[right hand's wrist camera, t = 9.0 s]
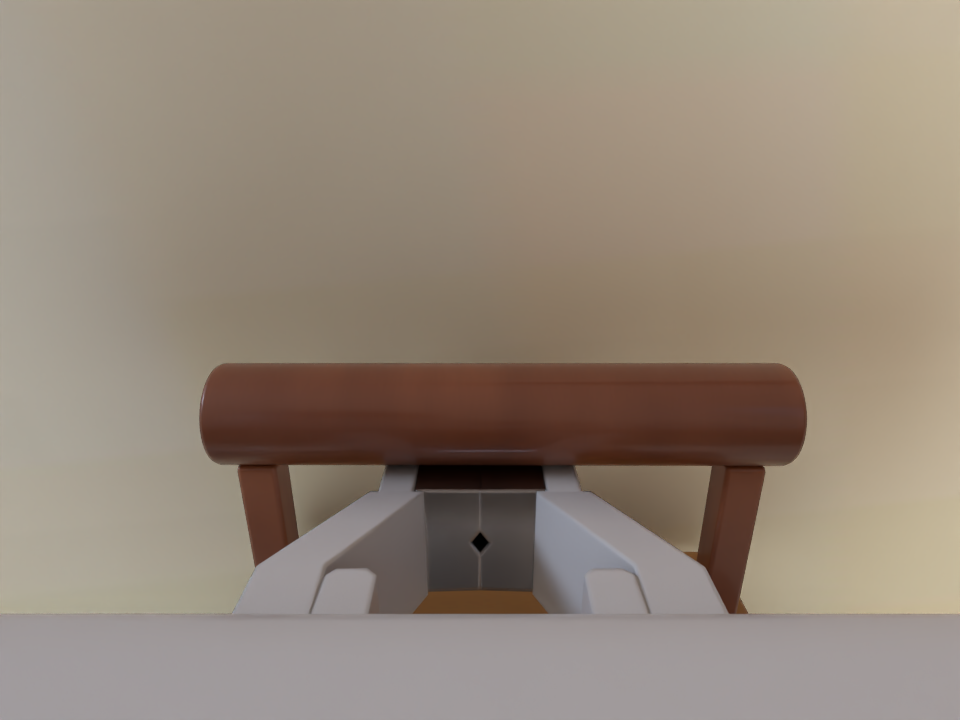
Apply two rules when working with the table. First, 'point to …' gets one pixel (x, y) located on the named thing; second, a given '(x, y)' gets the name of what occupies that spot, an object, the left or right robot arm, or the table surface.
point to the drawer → (508, 436)
